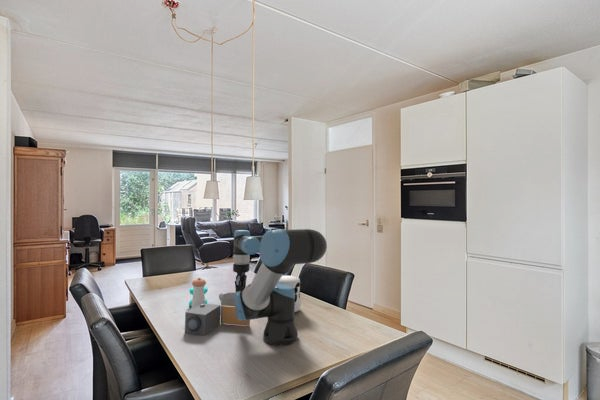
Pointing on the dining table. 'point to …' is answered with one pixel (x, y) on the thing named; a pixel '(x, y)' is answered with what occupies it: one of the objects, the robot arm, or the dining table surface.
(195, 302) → the salt shaker
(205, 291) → the donuts
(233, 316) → the side door
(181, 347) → the dining table surface
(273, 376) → the dining table surface
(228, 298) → the teacup
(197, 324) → the camera housing
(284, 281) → the milk container
